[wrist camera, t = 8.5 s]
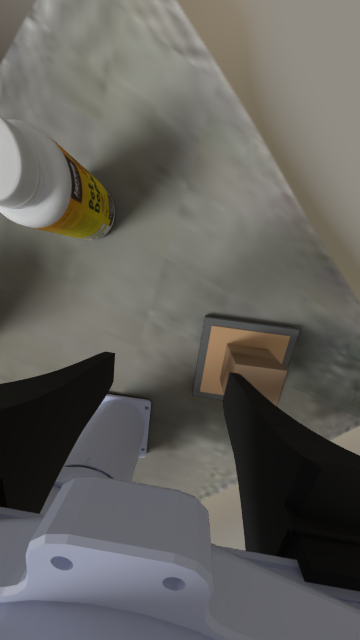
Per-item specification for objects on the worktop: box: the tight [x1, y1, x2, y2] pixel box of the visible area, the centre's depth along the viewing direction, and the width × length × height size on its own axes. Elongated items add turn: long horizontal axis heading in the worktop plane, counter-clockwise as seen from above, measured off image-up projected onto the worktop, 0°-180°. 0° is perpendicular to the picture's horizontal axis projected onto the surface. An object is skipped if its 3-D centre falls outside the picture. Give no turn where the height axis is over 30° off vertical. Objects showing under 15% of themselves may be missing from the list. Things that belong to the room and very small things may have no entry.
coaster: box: [192, 316, 300, 400], centre depth 22 cm, size 10×10×1 cm
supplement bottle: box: [0, 116, 115, 240], centre depth 14 cm, size 6×6×10 cm
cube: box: [220, 344, 287, 406], centre depth 20 cm, size 4×4×4 cm
